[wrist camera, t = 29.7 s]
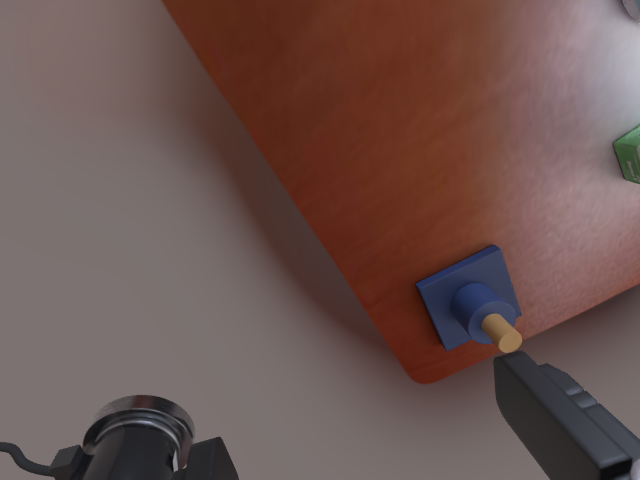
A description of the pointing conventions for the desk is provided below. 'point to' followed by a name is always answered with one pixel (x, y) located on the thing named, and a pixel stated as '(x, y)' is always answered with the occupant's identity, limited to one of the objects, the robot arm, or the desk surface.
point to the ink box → (629, 155)
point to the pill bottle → (633, 8)
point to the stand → (473, 302)
